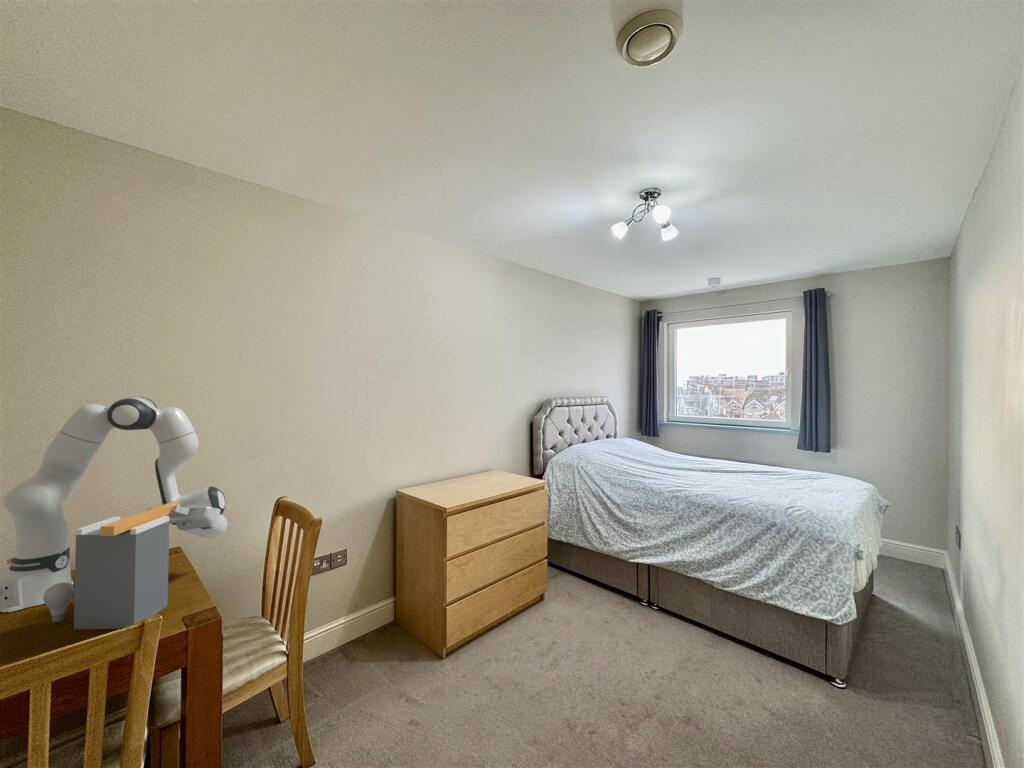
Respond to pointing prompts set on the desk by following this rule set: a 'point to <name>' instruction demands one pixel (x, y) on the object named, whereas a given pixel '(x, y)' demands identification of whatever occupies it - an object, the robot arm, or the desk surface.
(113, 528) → the orange flat bar
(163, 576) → the block
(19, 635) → the desk surface
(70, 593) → the lightbulb
